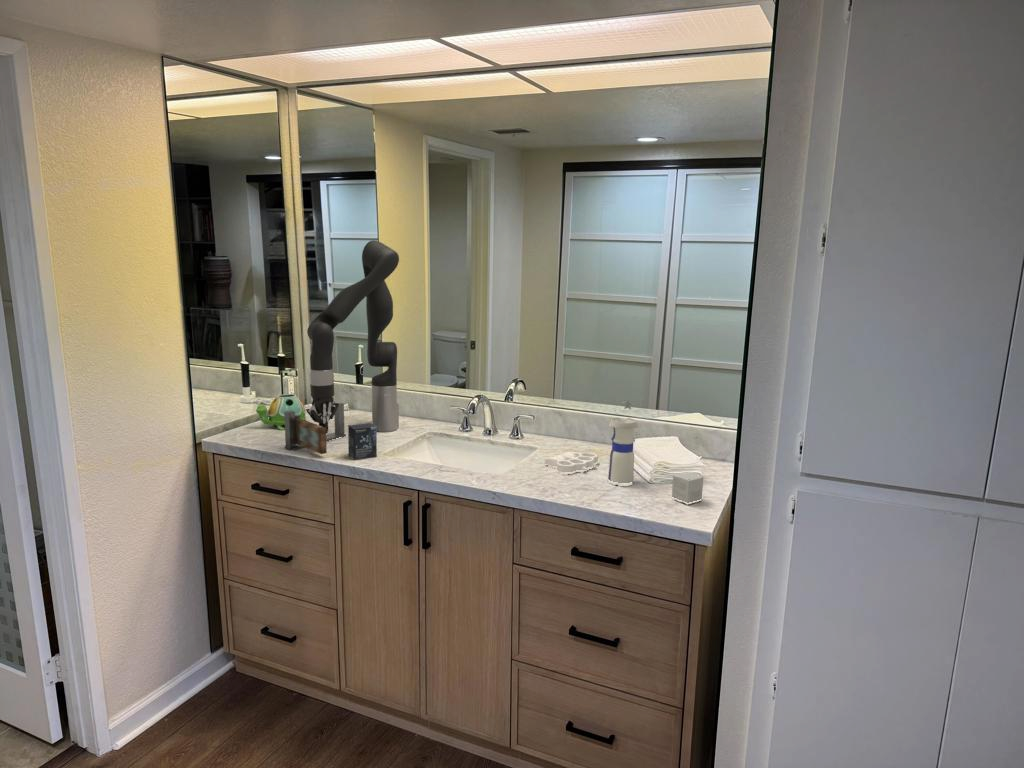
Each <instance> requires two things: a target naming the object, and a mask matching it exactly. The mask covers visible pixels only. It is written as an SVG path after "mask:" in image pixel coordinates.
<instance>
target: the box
mask: <svg viewBox="0 0 1024 768" xmlns="http://www.w3.org/2000/svg"><path fill="white" fill-rule="evenodd" d="M377 432H378V431H377V427H376V426H375V425H373V424H372V422H366V423H358V424H348V432H347V433H348V437H347V438H348V439H347V440H348V441H347V442H348V450H347V451H348V457H350V458H351V457H352V458H353V459H352V458H351V459H352V460H354V461H356V459H357V460H361V459H362V458H363V459H368V458H377V457H378V455H377V453H378V452H377V451H378V448H377V443H378V442H377V441H378V440H377Z"/></svg>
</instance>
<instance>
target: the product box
mask: <svg viewBox="0 0 1024 768" xmlns="http://www.w3.org/2000/svg"><path fill="white" fill-rule="evenodd" d="M703 486H704V477H703V476H700V475H698V474H695V473H692V472H689V471H684V472H680V473H676V474H673V475H672V487H671V498H672V497H674V498H677V499H679V500H682V501H685V502H687V503H689V502H693V501H697V500H700V499H702V500H703Z"/></svg>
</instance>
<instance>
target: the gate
mask: <svg viewBox="0 0 1024 768" xmlns="http://www.w3.org/2000/svg"><path fill="white" fill-rule="evenodd" d="M295 430H296V444H298V445H300V446H303V447H305V448H304V449H308V450H311V451H312V452H315V453H318V454H321V455H325V454H327V450H328V449H327V448H328V447H327V442H326V435H327V433H326V428H325V427H322V426H319V424H317V423H314V422H310V421H307V420H303V419H300V415H295Z"/></svg>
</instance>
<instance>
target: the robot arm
mask: <svg viewBox="0 0 1024 768" xmlns="http://www.w3.org/2000/svg"><path fill="white" fill-rule="evenodd" d="M399 262H400V256H399V253H398V252H397V251H395V250H394V249H393V248H391V247H389V246H388V245H386V244H385V243H383V242H380V241H378V240H375V239H373V240H370V241H368V242H367V243H365V246H364V247H363V249H362V253H361V263H362V269H363V277H364V278H362V279H361V280H359V281H356V282H355V283H352V284H351V285H349V286H346V287H345V288H343V289H342V290H341V291H339V292H338V293H337V294H336V296H335V297H334V298H333V299H332V300H331V301H330V303H329V304H328V306H327V307H326V308H325V309H324V310H323V311H322V312H321V313H319V314H318V315H317V316H316V317H315V318H314V319H313V320H312V321H311V323H309V325H308V326H307V336H308V338H309V339H310V340H311V344H312V347H311V348H312V349H311V350H312V351H311V353H310V358H309V365H310V370H309V371H310V372H309V373H310V374H309V382H310V384H309V388H310V397H311V398H312V401H311V407H310V408H307V409H306V412H307V414H308V416H309V417H310V418H311V420H313V421H314V422H315V423H318V425H319V426H322V427H325V428H326V434H329V422H330V421H331V420H333V419H334V415H335V412H336V410H337V408H338V406H339V404H338V403H339V402H335V399H334V396H335V376H334V375H335V374H334V368H333V351H334V341H335V337H334V335H335V334H334V329H335V328H336V327H337V326H338V325H339V324H341V323H343V322H344V321H345V320H346V319H348V317H349V316H350V314H351V313H352V312H353V311H354V309H355V308H356V307H357V306H358V305H359V304H360V303H361V302H362V301H363V300H364V299H366V302H365V303H366V304H365V305H366V309H365V310H366V319H367V321H366V322H367V344H366V345H367V347H366V348H367V351H366V354H367V361H368V365H369V366H370V367H376V368H377V367H379V368H384V367H385V368H387V369H386V370H385V371H384V372H382V373H379V374H377V375H373V376H372V377H371V414H372V415H371V424H373V425H375V426H376V427H377V432H379V433H389V432H393V431H396V430H398V428H400V422H399V421H400V420H399V419H400V417H399V412H400V411H399V409H400V408H399V406H400V405H399V403H398V394H397V393H398V392H397V391H398V388H397V383H398V378H397V376H398V375H397V369H398V368H397V365H398V347H397V343H396V342H393V341H379V338H380V336H381V334H382V333H383V332H384V331H385V330H386V329H387V327H388V326H389V325H390V324H391V322H392V320H393V317H394V301H393V297H392V294H391V291H390V289H389V287H388V285H387V283H386V279H388V278H389V277H390V276H391V275H392V274H393V272H394V271H395V270H396V269H397V267H398V265H399ZM314 422H313V423H314Z"/></svg>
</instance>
